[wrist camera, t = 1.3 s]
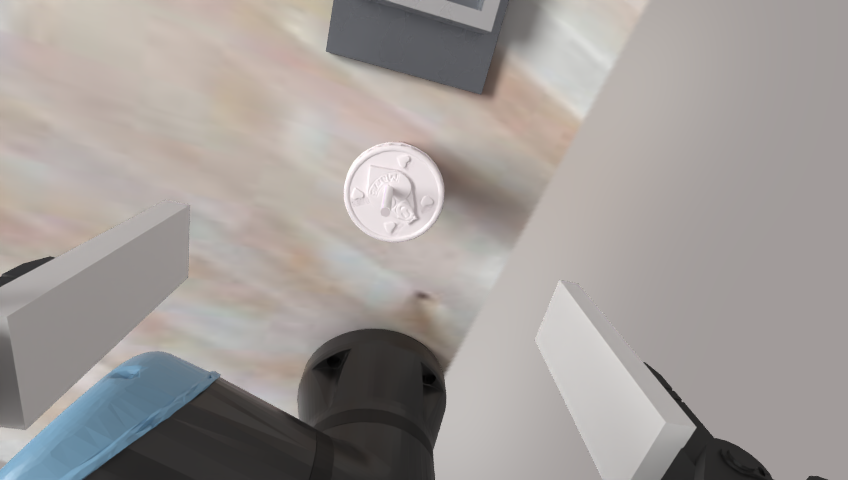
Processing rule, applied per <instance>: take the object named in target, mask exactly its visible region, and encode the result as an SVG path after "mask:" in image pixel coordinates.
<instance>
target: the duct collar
mask: <svg viewBox="0 0 848 480" xmlns="http://www.w3.org/2000/svg"><path fill="white" fill-rule="evenodd" d="M508 1H509V0H334V1H333V8H332V14H331V21H330V28H329V34H328V41H327V47H326V52H330V53H333V54H337V55H341V56H344V57H348V58H351V59H355V60H359V61H362V62H366V63H369V64H373V65H377V66H380V67H384V68H387V69H391V70H395V71H398V72H402V73H405V74H409V75H413V76H416V77H420V78H423V79H427V80H431V81H434V82H438V83H441V84H445V85H449V86H452V87H456V88H459V89H463V90H467V91H470V92H474V93H477V94H481V93H482V90H483V87H484V83H485V80H486V76H487V73H488V70H489V66H490V63H491V59H492V56H493V53H494V49H495V46H496V42H497V39H498V35H499V32H500V29H501V25H502V22H503V18H504V15H505V12H506V8H507V5H508Z"/></svg>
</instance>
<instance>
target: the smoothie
mask: <svg viewBox="0 0 848 480" xmlns="http://www.w3.org/2000/svg"><path fill="white" fill-rule="evenodd" d="M344 201H345V206H346V209H347V211H348V214H349V216H350V217H351V219H352V220H353V222H354V223H355V224H356V225H357V226H358V228H360V229H361V230H362V231H363V232H364V233H366V234H368V235H369V236H371V237H373V238H375V239H378V240H382V241H386V242H404V241H408V240H412V239H414V238H417V237H419V236H420V235H422V234H424V233H425V232H426V231H428V230H429V229H430V228H431V227H432V226H433V225H434V223H435V222H436V221H437V219H438V217H439V215H440V213H441V211H442V208H443V204H444V183H443V179H442V175H441V173H440V171H439V169H438V167H437V165H436V163H435V162H434V161H433V160H432V159H431V158H430V157H429V156H428V155H427V154H426V153H425V152H423V151H421V150H420V149H418V148H417V147H415V146H412V145H409V144H407V143H404V142H400V141H395V142H387V143H383V144H379V145H375V146H373V147H371V148H370V149H368V150H366V151H364V152H363V153H362V154H361V155H360V156H359V157H358V158H357V159H356V160H355V161H354V162H353V164H352V166H351V167H350V169H349V171H348V173H347V177H346V180H345V185H344Z"/></svg>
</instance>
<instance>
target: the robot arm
mask: <svg viewBox="0 0 848 480" xmlns="http://www.w3.org/2000/svg"><path fill="white" fill-rule="evenodd" d="M189 226H190V205H189V204H185V203H180V202H175V201H170V200H164V201H162V202H160V203H158V204H156V205H155V206H153V207H151V208H149V209H147V210H145V211H143V212H141V213H139V214H138V215H136V216H134V217H132V218H130V219H128V220H126V221H124V222H122V223H121V224H119V225H117V226H115V227H113V228H111V229H109V230H107V231H105V232H104V233H102V234H100V235H98V236H96V237H94V238H92V239H90V240H88V241H86V242H85V243H83V244H81V245H79V246H77V247H75V248H73V249H71V250H69V251H68V252H66V253H64V254H62V255H60V256H58V257H56V258H55V257H46V258H42V259H39V260H35V261H31V262H28V263H24V264H22V265H20V266H18V267H16V268H14V269H12V270H10V271H8V272H6V273H4V274H2V276H1V277H0V427H6V428H14V429H22V430H26V429H27V428H28V427H30V426H31V425H32V424H33V423H34V422H35V421H36V420H37V419H38V418H39V417H40V416H41V415H42V414H43V413H44V412H45V411H47V410H48V409H49V408H50V407H51V406H52V405H53V404H54V403H55V402H56V401H57V400H58V399H59V398H60V397H61V396H62V395H64V394H65V393H66V392H67V391H68V390H69V389H70V388H71V387H72V386H73V385H74V384H75V383H76V382H77V381H78V380H79V379H81V378H82V377H83V376H84V375H85V374H86V373H87V372H88V371H89V370H90V369H91V368H92V367H93V366H94V365H95V364H96V363H98V362H99V361H100V360H101V359H102V358H103V357H104V356H105V355H106V354H107V353H108V352H109V351H110V350H111V349H112V348H113V347H115V346H116V345H117V344H118V343H119V342H120V341H121V340H122V339H123V338H124V337H125V336H126V335H127V334H128V333H129V332H130V331H132V330H133V329H134V328H135V327H136V326H137V325H138V324H139V323H140V322H141V321H142V320H143V319H144V318H145V317H146V316H147V315H149V314H150V313H151V312H152V311H153V310H154V309H155V308H156V307H157V306H158V305H159V304H160V303H161V302H162V301H163V300H164V299H166V298H167V297H168V296H169V295H170V294H171V293H172V292H173V291H174V290H175V289H176V288H177V287H178V286H179V285H180V284H181V283H183V282H184V281H185V280H186V279H187V278H188V263H189ZM535 342H536V343H537V346H538V348H539V350H540V352H541V354H542V356H543V358H544V360H545V362H546V364H547V366H548V368H549V370H550V373H551V375H552V377H553V379H554V381H555V383H556V385H557V387H558V389H559V391H560V393H561V395H562V397H563V400H564V401H565V403H566V406H567V408H568V410H569V412H570V414H571V416H572V418H573V420H574V422H575V424H576V426H577V428H578V430H579V433H580V435H581V437H582V438H583V441H584V443H585V445H586V447H587V449H588V451H589V453H590V455H591V457H592V459H593V462H594V463H595V466H596V468H597V470H598V472H599V474H600V476H601V478H602V480H773V479H772V477H771V475H770V473H769V472H768V471H767V470H766V468H765V467H764V466H763V465H762V464H761V463H760V462H759V461H758V460H756V459H755V458H754V457H753V456H752V455H750V454H749V453H748V452H746V451H745V450H743V449H741V448H740V447H739V446H736V445H734V444H732V443H730V442H727V441H725V440H721V439H717V438H713V436H712V435H711V434H710V433H709V431H708V430H707V429H706V428H705V427H704V426H703V424H702V423H701V422H700V421H699V420H698V418H697V417H696V416H695V415H694V414H693V413H692V411H691V410H690V409H689V408H688V407H687V405H686V404H685V403H684V402H681V400H682V399H681V398H680V397H679V396H678V395H677V394H676V392H675V391H672V388H671V386H670V385H669V384H668V383H667V382H666V381H665V379H664V378H663V377H662V376H661V375H660V374H659V373H658V372H656V371H655V370H654V369H653V368H651V367H650V366H649V365H648V364H646V363H645V362H643V361H642V360H641V359H640V358H639V357H638V355H637V354H636V353H635V352H634V351H633V349H632V348H631V347H630V346H629V344H628V343H627V342H626V341H625V340H624V338H623V337H622V336H621V335H620V333H619V332H618V331H617V330H616V329H615V328H614V326H613V325H612V324H611V323H610V321H609V320H608V319H607V318H606V316H605V315H604V314H603V313H602V312H601V310H600V309H599V308H598V307H597V305H595V303H594V302H593V301H592V299H591V298H590V297H589V296H588V295H587V293H586V292H585V291H584V290H583V288H582V287H581V286H580V285H579V284H578V283H573V282H568V281H563V280H559V282H558V284H557V287H556V290H555V292H554V294H553V297H552V299H551V302H550V304H549V306H548V309H547V311H546V314H545V316H544V319H543V321H542V324H541V326H540V328H539V331H538V333H537V336H536V338H535ZM297 402H298V413H299V419H297V418H295V417H293V416H292V415H290V414H288V413H286V412H284V411H282V410H280V409H278V408H277V407H275V406H273V405H271V404H269V403H267V402H265V401H264V400H262V399H260V398H258V397H256V396H254V395H252V394H250V393H249V392H247V391H245V390H243V389H241V388H239V387H237V386H235V385H234V384H232V383H230V382H228V381H226V380H224V379H222V378H221V377H220V374H219V373H217V372H216V371H212V372H208V371H206V370H204V369H202V368H200V367H197V366H195V365H193V364H191V363H189V362H187V361H184V360H182V359H180V358H178V357H176V356H174V355H172V354H169V353H166V352H159V351H155V352H147V353H143V354H140V355H137V356H135V357H133V358H131V359H129V360H127V361H126V362H124V363H122V364H121V365H119V366H118V367H117V368H115V369H114V370H112V371H111V372H110V373H108V374H107V375H106V376H105V377H103V378H102V379H101V380H100V381H98V382H97V383H96V384H95V385H94V386H92V387H91V388H90V389H89V390H88V391H87V392H85V393H84V394H83V395H82V396H81V397H79V398H78V399H77V400H76V401H75V402H74V403H72V404H71V405H70V406H69V407H68V408H67V409H66V410H64V411H63V412H62V413H61V414H60V415H59V416H58V417H57V418H56V419H54V420H53V421H52V422H51V423H50V424H49V425H48V426H47V427H45V428H44V429H43V430H42V431H41V432H40V433H39V434H38V435H37V436H36V437H34V438H33V439H32V440H31V441H30V442H29V443H28V444H27V445H26V446H25V447H24V448H23V449H22V450H21V451H20V452H18V453H17V454H16V455H15V456H14V457H13V458H12V459H11V460H10V461H9V462H8V463H7V464H6V465H5V466H4V467H3V468H2V469H1V470H0V480H435V473H434V462H433V448H434V446H435V442H436V439H437V436H438V432H439V429H440V425H441V422H442V419H443V415H444V412H445V408H446V389H445V380H444V375H443V371H442V369H441V366H440V364H439V363H438V361H437V359H436V358H435V357H434V355H433V354H432V353H431V352H430V351H429V350H428V349H427V348H426V347H425V346H423V345H422V344H421V343H419V342H417V341H416V340H414V339H412V338H410V337H408V336H406V335H403V334H400V333H397V332H393V331H388V330H380V329H365V330H357V331H352V332H348V333H345V334H342V335H340V336H337V337H335V338H333V339H331V340H330V341H328V342H326V343H325V344H324V345H322V346H321V347H320V348H319V349H318V350H317V351H316V352H315V353H314V354H313V355H312V357H311V358H310V359H309V361H308V363H307V365H306V367H305V370H304V373H303V376H302V379H301V381H300V384H299V389H298V399H297ZM807 480H827V479H824V478H821V477H819V476H809V477H808V478H807Z"/></svg>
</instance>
